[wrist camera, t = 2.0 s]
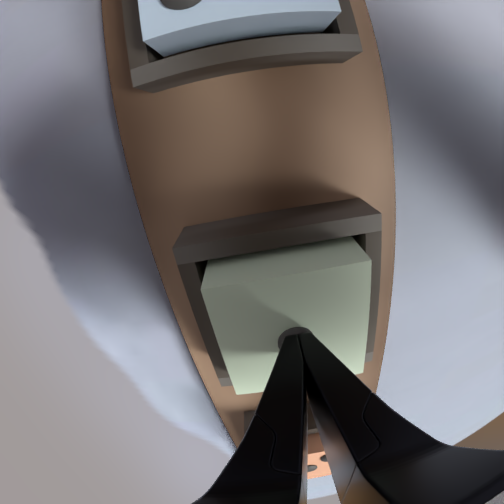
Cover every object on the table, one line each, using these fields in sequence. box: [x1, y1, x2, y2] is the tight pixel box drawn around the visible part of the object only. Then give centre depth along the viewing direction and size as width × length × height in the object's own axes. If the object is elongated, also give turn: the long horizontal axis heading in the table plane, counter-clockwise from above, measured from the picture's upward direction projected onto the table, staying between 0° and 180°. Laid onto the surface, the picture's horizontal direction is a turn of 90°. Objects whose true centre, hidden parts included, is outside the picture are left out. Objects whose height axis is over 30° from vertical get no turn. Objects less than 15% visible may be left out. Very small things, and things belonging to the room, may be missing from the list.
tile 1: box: [201, 236, 372, 395], centre depth 10 cm, size 5×5×2 cm
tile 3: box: [307, 433, 331, 479], centre depth 15 cm, size 5×5×2 cm
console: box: [101, 0, 396, 448], centre depth 12 cm, size 10×36×3 cm, turn 10°
